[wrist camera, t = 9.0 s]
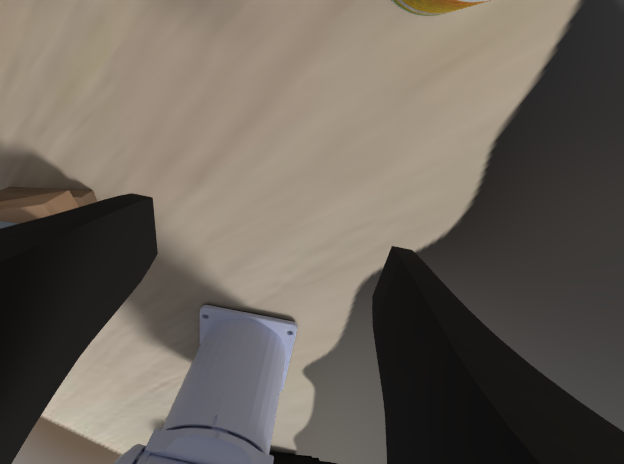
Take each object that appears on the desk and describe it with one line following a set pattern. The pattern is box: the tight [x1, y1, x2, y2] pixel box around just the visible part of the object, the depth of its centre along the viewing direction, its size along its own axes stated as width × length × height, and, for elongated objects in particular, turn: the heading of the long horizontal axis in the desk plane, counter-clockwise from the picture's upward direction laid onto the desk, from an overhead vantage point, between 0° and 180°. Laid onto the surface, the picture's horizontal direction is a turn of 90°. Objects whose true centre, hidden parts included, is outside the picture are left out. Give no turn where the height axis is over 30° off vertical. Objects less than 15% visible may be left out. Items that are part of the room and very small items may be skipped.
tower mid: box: [0, 190, 79, 224], centre depth 21 cm, size 6×6×2 cm
